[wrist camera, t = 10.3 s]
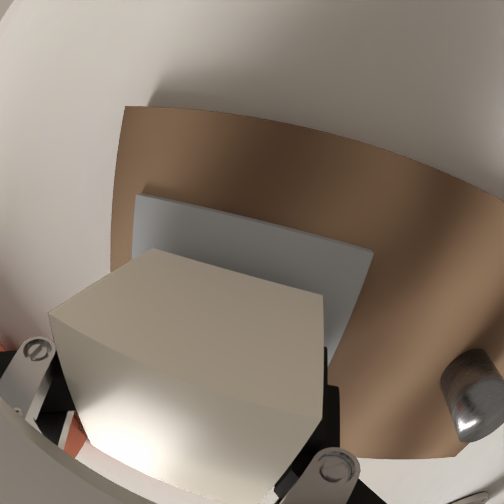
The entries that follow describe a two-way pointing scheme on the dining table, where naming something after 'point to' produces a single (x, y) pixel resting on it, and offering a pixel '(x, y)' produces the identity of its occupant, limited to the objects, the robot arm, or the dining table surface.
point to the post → (473, 395)
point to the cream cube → (195, 372)
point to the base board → (353, 232)
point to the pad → (257, 253)
